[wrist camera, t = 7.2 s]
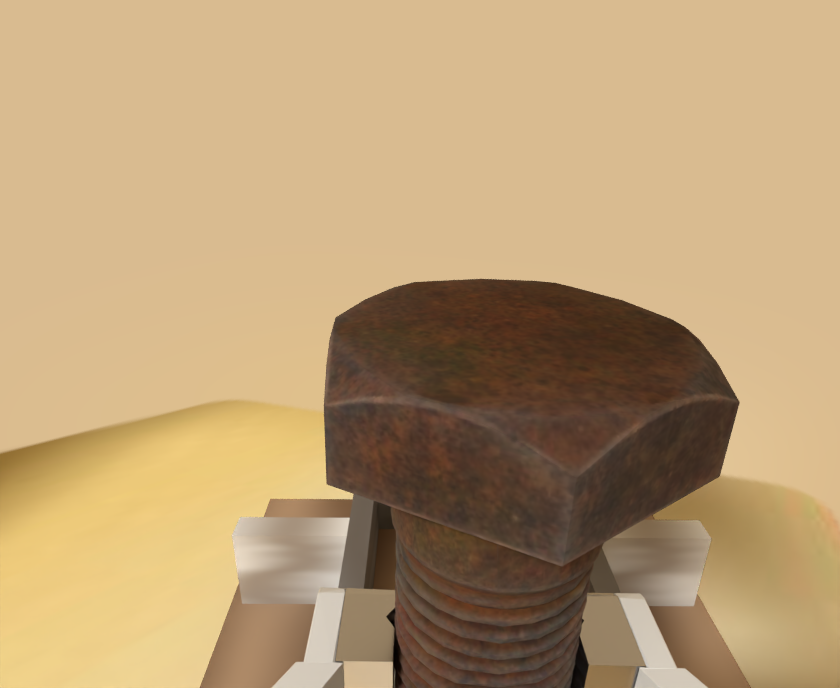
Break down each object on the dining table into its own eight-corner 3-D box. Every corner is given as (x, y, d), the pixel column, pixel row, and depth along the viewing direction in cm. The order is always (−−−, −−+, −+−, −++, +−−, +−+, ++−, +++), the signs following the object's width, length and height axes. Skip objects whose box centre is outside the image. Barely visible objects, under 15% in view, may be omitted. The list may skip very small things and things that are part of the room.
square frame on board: (183, 773, 21) (159, 669, 19) (272, 519, 34) (263, 440, 32) (775, 775, 21) (817, 673, 19) (640, 522, 34) (656, 443, 32)
